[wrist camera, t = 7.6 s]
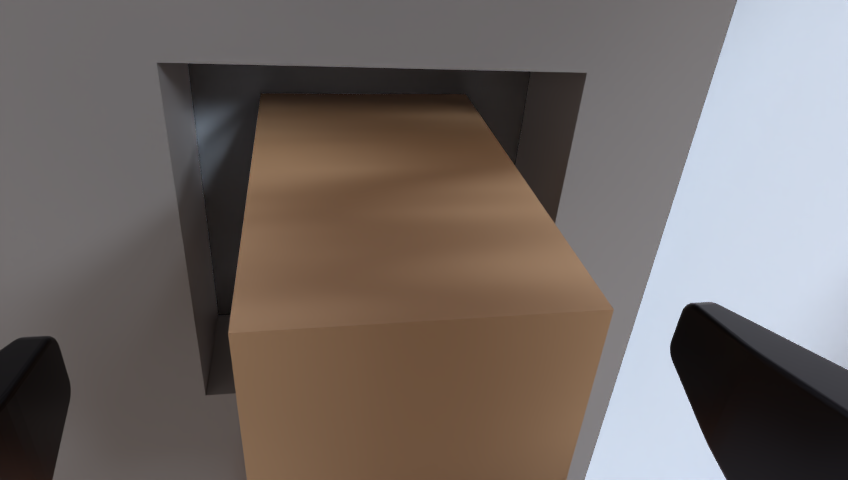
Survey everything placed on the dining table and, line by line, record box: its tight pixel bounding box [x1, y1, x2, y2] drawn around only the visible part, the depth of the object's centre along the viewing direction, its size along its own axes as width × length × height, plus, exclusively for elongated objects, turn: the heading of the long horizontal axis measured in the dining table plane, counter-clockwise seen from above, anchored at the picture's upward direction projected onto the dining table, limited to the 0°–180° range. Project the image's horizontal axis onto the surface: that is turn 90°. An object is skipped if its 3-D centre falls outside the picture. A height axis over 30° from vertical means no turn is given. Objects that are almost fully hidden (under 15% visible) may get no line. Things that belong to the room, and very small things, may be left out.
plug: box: [228, 93, 614, 480], centre depth 10 cm, size 4×4×7 cm
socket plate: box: [0, 0, 737, 480], centre depth 12 cm, size 22×14×3 cm, turn 86°
